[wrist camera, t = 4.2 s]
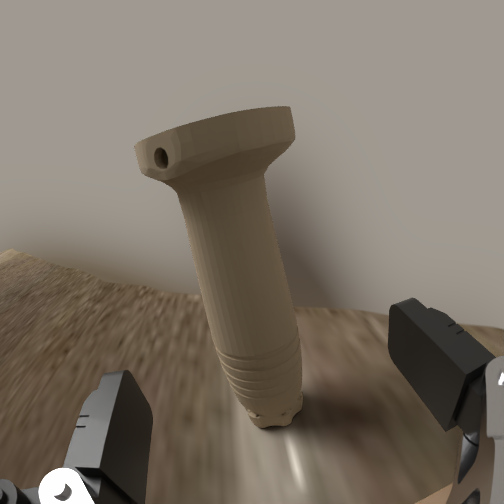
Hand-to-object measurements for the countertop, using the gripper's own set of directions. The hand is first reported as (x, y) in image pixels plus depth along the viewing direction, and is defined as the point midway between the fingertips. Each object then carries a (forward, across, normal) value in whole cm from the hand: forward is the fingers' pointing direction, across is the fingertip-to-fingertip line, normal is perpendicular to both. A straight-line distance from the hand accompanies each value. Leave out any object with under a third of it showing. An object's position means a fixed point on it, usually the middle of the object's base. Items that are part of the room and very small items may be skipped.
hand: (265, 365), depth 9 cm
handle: (+5, 0, +8) cm, 10 cm away
